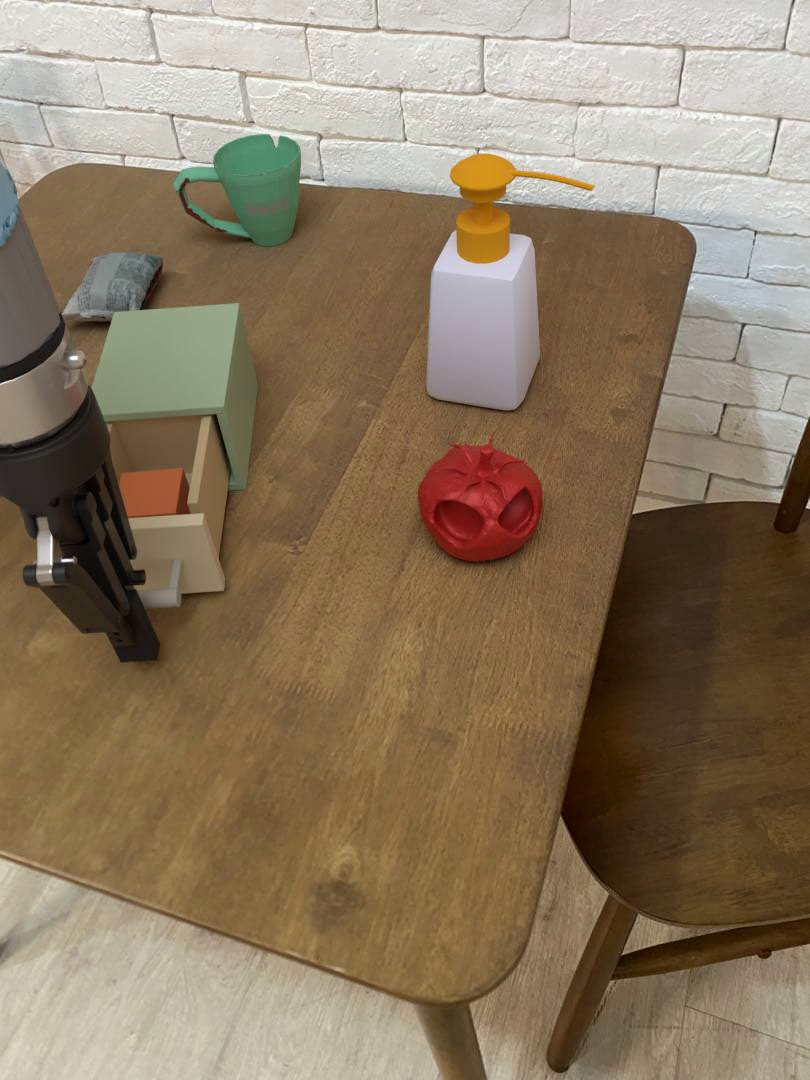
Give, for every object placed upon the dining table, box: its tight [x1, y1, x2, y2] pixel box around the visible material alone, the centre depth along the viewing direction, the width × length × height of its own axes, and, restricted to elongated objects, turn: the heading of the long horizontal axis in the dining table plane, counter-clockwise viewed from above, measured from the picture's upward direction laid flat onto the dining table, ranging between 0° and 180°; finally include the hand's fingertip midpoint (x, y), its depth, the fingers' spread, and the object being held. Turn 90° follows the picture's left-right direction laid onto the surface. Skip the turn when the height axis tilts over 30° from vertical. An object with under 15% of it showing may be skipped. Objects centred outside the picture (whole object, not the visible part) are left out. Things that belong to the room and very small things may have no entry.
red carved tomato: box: [417, 430, 544, 562], centre depth 75 cm, size 10×10×9 cm
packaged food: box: [61, 251, 164, 322], centre depth 102 cm, size 9×12×5 cm
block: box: [119, 468, 191, 518], centre depth 75 cm, size 5×5×5 cm
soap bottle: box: [425, 153, 596, 411], centre depth 82 cm, size 10×14×22 cm
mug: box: [172, 133, 302, 247], centre depth 108 cm, size 15×10×10 cm
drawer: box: [106, 414, 230, 610], centre depth 75 cm, size 18×10×8 cm, turn 2°
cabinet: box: [91, 302, 259, 492], centre depth 84 cm, size 15×12×10 cm
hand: (140, 653), depth 69 cm, fingers closed
